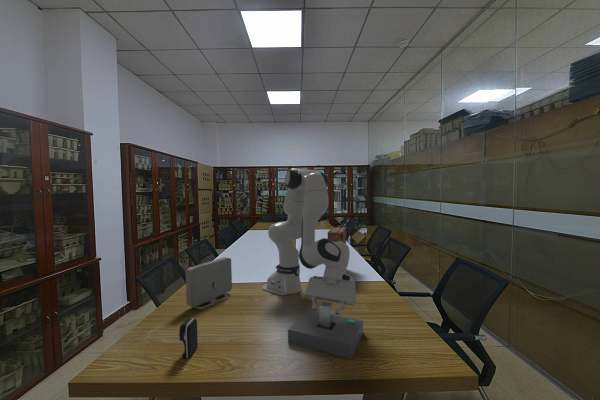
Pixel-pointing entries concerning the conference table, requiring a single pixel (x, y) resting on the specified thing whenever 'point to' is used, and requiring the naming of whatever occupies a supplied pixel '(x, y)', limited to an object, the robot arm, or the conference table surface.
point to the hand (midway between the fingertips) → (325, 311)
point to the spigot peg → (326, 315)
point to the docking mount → (327, 334)
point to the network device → (208, 282)
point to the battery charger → (189, 337)
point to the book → (337, 234)
